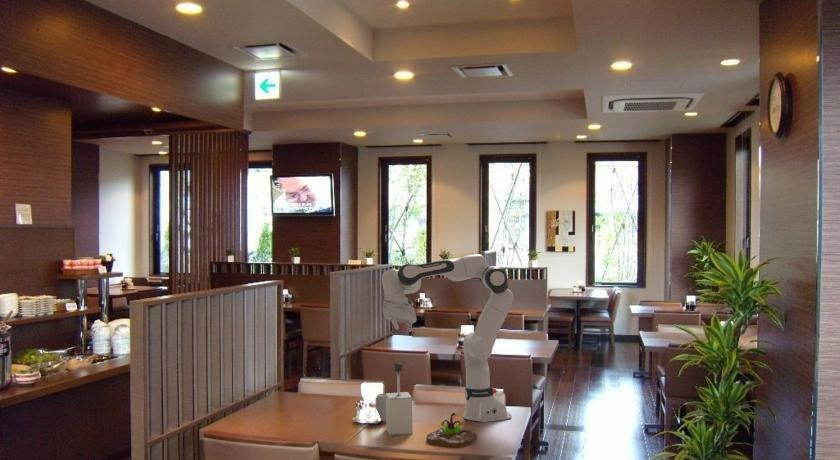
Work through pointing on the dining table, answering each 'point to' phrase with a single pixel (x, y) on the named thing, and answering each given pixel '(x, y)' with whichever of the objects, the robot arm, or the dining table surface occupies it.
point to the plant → (451, 435)
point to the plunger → (398, 375)
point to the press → (399, 414)
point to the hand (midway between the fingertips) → (403, 330)
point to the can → (381, 406)
